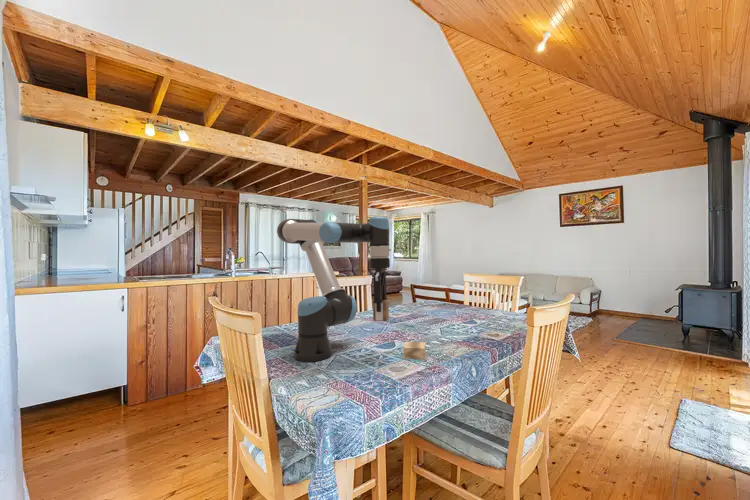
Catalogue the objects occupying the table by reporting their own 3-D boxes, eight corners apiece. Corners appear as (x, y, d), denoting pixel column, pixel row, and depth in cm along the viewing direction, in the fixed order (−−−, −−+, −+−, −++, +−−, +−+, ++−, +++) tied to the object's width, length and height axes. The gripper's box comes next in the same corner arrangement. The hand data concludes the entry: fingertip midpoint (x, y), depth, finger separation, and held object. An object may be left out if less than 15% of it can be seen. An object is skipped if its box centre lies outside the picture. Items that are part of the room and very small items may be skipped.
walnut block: (373, 320, 122) (372, 302, 122) (376, 317, 127) (375, 300, 126) (386, 321, 121) (386, 302, 120) (388, 318, 125) (388, 300, 125)
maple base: (403, 358, 125) (403, 347, 125) (405, 351, 133) (405, 341, 133) (424, 359, 123) (424, 348, 123) (425, 352, 131) (425, 342, 131)
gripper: (385, 258, 114) (386, 324, 114) (393, 256, 131) (394, 313, 132) (364, 258, 115) (365, 323, 116) (374, 256, 133) (375, 313, 133)
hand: (380, 318), depth 124 cm, fingers closed on walnut block, 5 cm apart
